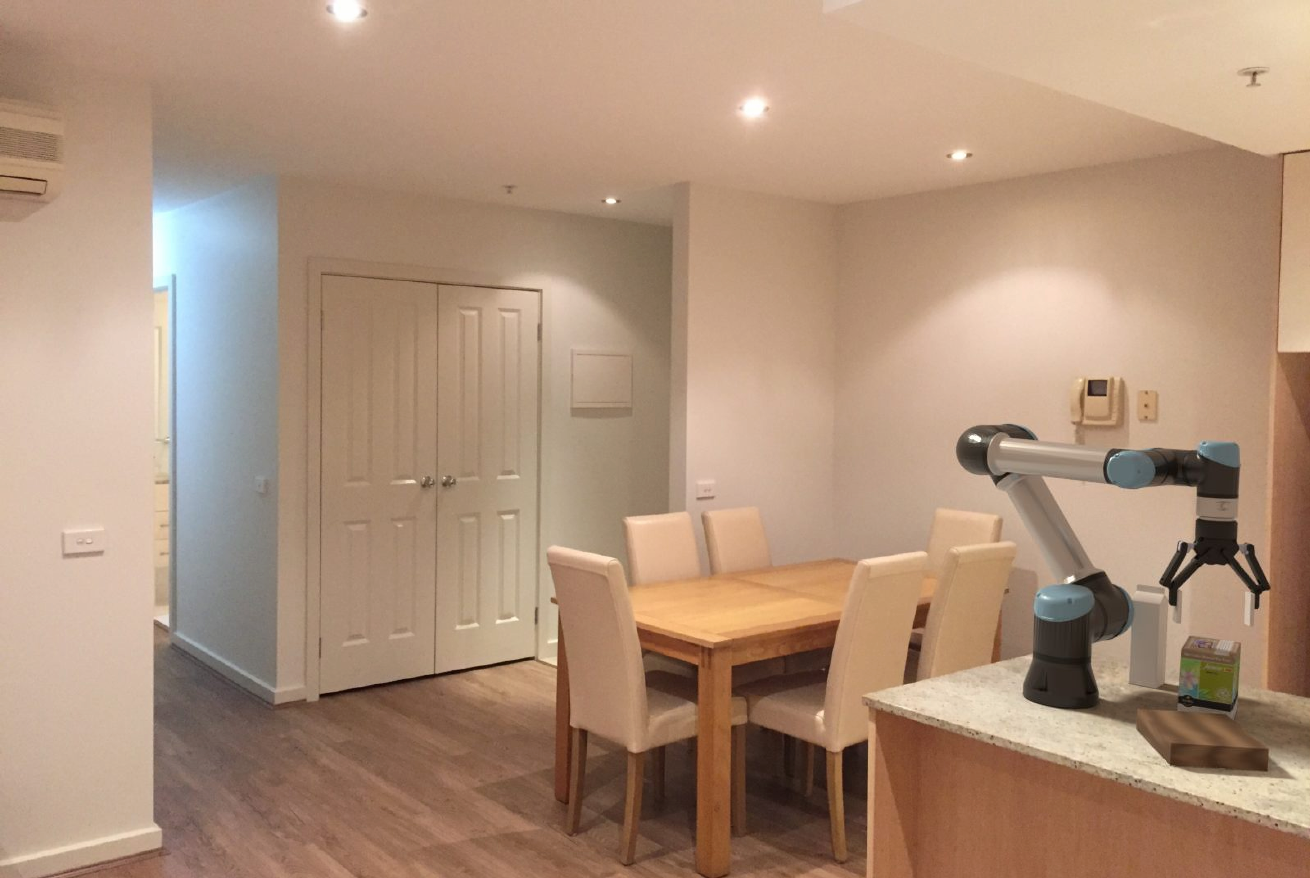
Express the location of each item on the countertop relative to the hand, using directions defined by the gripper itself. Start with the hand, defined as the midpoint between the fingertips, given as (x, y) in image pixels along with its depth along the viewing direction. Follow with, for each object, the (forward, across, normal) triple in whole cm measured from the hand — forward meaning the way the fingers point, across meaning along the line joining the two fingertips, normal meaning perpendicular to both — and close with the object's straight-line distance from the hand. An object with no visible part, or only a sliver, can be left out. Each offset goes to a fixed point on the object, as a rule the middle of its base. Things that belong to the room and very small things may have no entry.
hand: (1212, 623), depth 218 cm
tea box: (+19, 0, 0) cm, 19 cm away
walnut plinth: (+19, -9, -22) cm, 30 cm away
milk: (+19, -5, +23) cm, 30 cm away
